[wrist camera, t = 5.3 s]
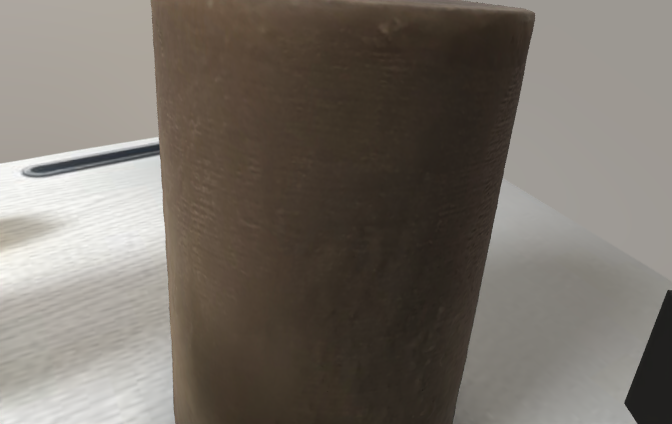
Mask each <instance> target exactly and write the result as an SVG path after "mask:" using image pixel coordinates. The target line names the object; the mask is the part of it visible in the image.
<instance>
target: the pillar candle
mask: <svg viewBox="0 0 672 424" xmlns="http://www.w3.org/2000/svg"><path fill="white" fill-rule="evenodd" d="M151 7H152V24H153V45H154V55H155V76H156V93H157V111H158V112H157V113H158V127H159V143H160V159H161V177H162V188H163V213H164V222H165V234H166V257H167V271H168V290H169V312H170V326H171V328H170V329H171V340H172V359H173V400H174V414H175V423H176V424H452V423H453V417H454V413H455V407H456V402H457V397H458V392H459V388H460V384H461V380H462V376H463V371H464V366H465V362H466V358H467V351H468V345H469V341H470V336H471V331H472V327H473V321H474V316H475V312H476V307H477V302H478V297H479V292H480V287H481V282H482V277H483V272H484V267H485V262H486V258H487V253H488V248H489V243H490V239H491V233H492V228H493V223H494V218H495V213H496V209H497V204H498V198H499V193H500V187H501V183H502V178H503V174H504V168H505V163H506V158H507V154H508V149H509V144H510V139H511V134H512V129H513V125H514V120H515V115H516V110H517V106H518V102H519V96H520V91H521V86H522V81H523V76H524V70H525V64H526V59H527V54H528V49H529V45H530V40H531V36H532V32H533V27H534V21H535V13H534V12H532V11H529V10H526V9H522V8H515V7H507V6H501V5H492V4H484V3H478V2H469V1H461V0H151Z"/></svg>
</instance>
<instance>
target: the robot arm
mask: <svg viewBox="0 0 672 424" xmlns="http://www.w3.org/2000/svg"><path fill="white" fill-rule="evenodd" d="M624 404H625V405H626V407H627V408H628V410H629V411H630V413H631V414H632V416H633V417H634V419H635V420H636V422H637V424H672V290H668V291H667V293H666V296H665V299H664V301H663V304H662V306H661V309H660V312H659V314H658V317H657V319H656V322H655V325H654V327H653V330H652V332H651V335H650V338H649V340H648V343H647V345H646V348H645V351H644V353H643V356H642V358H641V361H640V364H639V366H638V369H637V371H636V374H635V377H634V379H633V382H632V384H631V387H630V390H629V392H628V395H627V397H626V400H625V403H624Z"/></svg>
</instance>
